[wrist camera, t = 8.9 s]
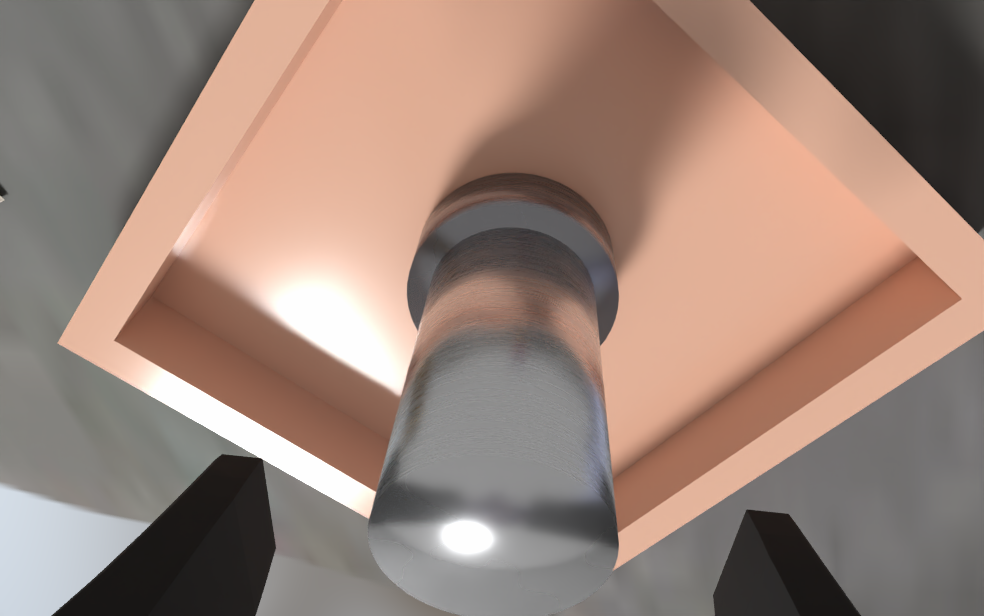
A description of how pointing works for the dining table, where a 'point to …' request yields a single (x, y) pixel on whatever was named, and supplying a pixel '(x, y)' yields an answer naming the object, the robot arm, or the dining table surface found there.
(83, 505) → the dining table surface
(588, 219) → the grey cylinder
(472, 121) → the dish
